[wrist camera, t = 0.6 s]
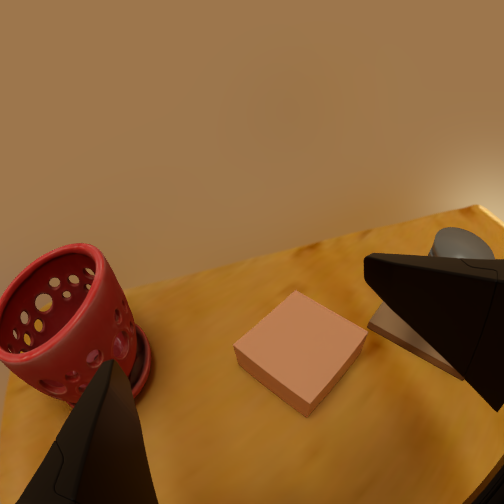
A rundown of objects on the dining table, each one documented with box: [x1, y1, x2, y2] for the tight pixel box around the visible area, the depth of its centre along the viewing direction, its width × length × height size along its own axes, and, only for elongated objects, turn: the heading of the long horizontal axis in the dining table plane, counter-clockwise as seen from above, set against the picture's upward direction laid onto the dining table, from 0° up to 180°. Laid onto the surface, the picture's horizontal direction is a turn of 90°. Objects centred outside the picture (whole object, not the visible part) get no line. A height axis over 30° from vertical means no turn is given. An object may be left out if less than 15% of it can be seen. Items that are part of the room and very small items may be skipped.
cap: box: [428, 227, 495, 259], centre depth 21 cm, size 7×7×4 cm
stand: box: [233, 290, 368, 417], centre depth 23 cm, size 8×8×4 cm
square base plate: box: [367, 301, 464, 381], centre depth 23 cm, size 12×12×8 cm
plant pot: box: [0, 243, 151, 408], centre depth 21 cm, size 13×13×12 cm
